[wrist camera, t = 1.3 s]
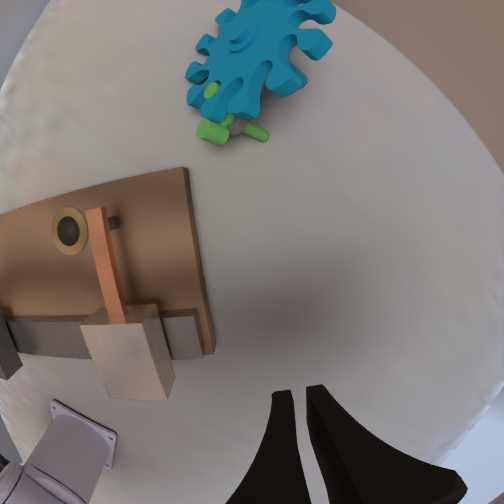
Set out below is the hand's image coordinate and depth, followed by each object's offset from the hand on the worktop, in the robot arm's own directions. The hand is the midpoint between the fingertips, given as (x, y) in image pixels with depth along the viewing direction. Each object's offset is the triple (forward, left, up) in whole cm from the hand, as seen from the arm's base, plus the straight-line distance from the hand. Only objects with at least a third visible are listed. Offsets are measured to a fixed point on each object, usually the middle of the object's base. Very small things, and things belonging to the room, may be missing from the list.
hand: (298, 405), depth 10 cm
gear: (+14, +8, -10) cm, 19 cm away
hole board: (-4, +15, -9) cm, 19 cm away
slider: (-2, +9, -7) cm, 12 cm away
